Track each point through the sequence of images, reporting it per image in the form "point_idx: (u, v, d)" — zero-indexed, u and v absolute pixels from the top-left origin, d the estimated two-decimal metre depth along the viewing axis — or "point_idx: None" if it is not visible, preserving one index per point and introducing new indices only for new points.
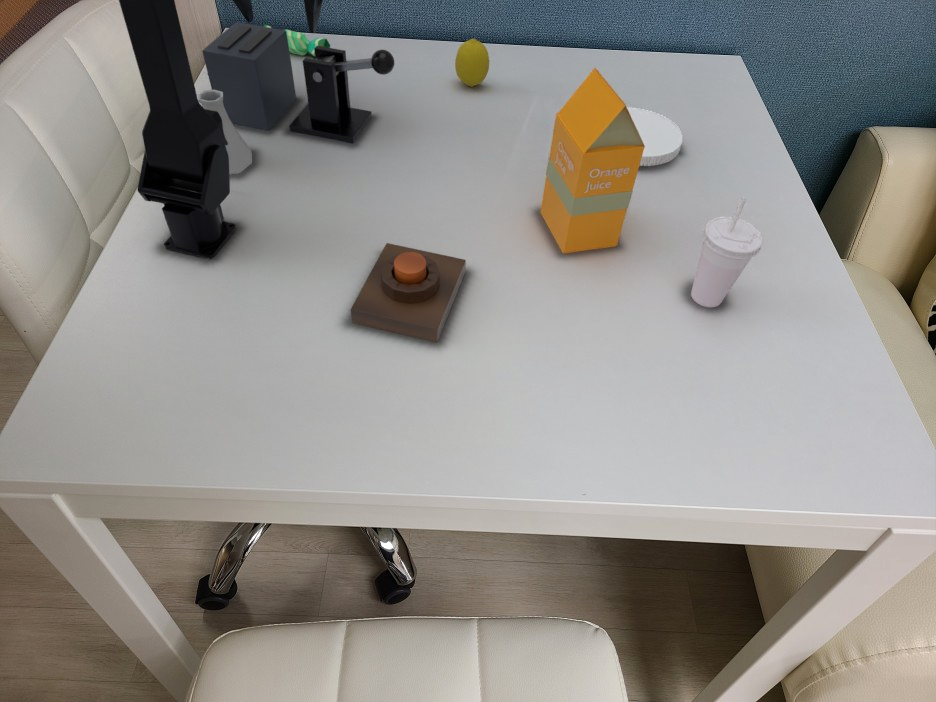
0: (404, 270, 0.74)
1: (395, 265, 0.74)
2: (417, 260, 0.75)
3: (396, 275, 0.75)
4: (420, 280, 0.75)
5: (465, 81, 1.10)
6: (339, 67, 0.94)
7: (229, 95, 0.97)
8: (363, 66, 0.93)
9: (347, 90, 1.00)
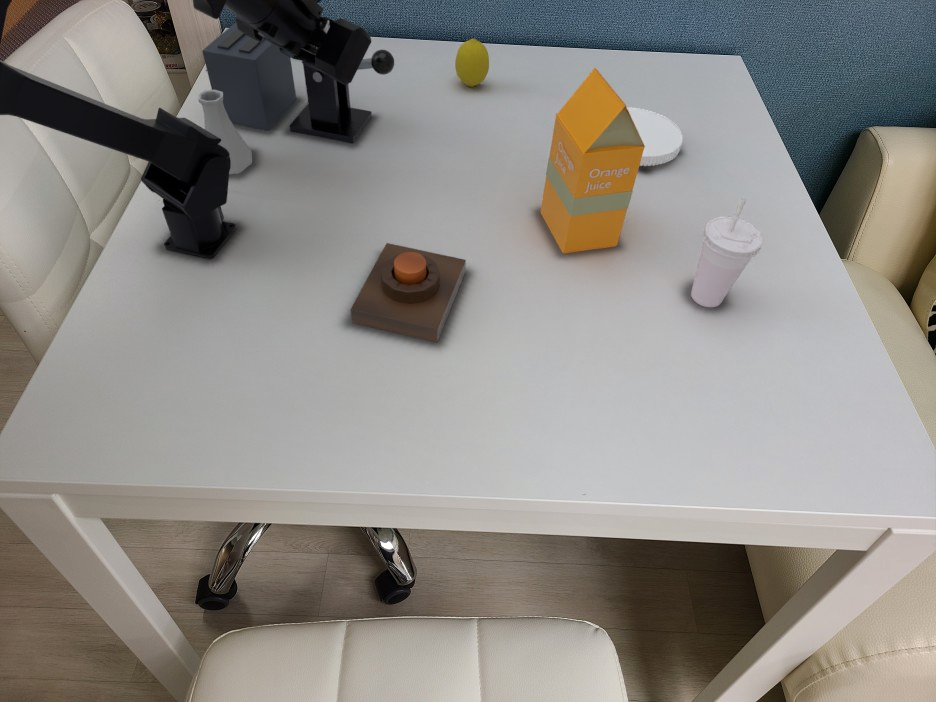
0: (404, 270, 0.74)
1: (395, 265, 0.74)
2: (417, 260, 0.75)
3: (396, 275, 0.75)
4: (420, 280, 0.75)
5: (465, 81, 1.10)
6: None
7: (229, 95, 0.97)
8: (363, 66, 0.93)
9: (347, 90, 1.00)
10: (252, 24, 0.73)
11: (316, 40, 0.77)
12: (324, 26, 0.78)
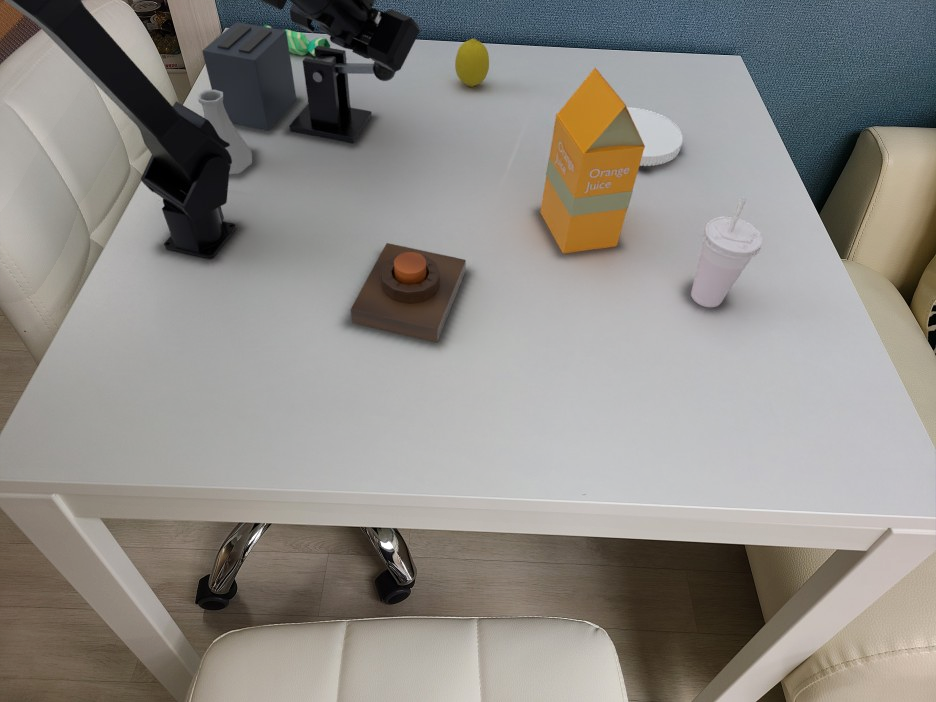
0: (404, 270, 0.74)
1: (395, 265, 0.74)
2: (417, 260, 0.75)
3: (396, 275, 0.75)
4: (420, 280, 0.75)
5: (465, 81, 1.10)
6: (340, 69, 0.95)
7: (229, 95, 0.97)
8: (364, 71, 0.94)
9: (347, 90, 1.00)
10: (310, 15, 0.79)
11: (368, 30, 0.82)
12: (375, 17, 0.83)
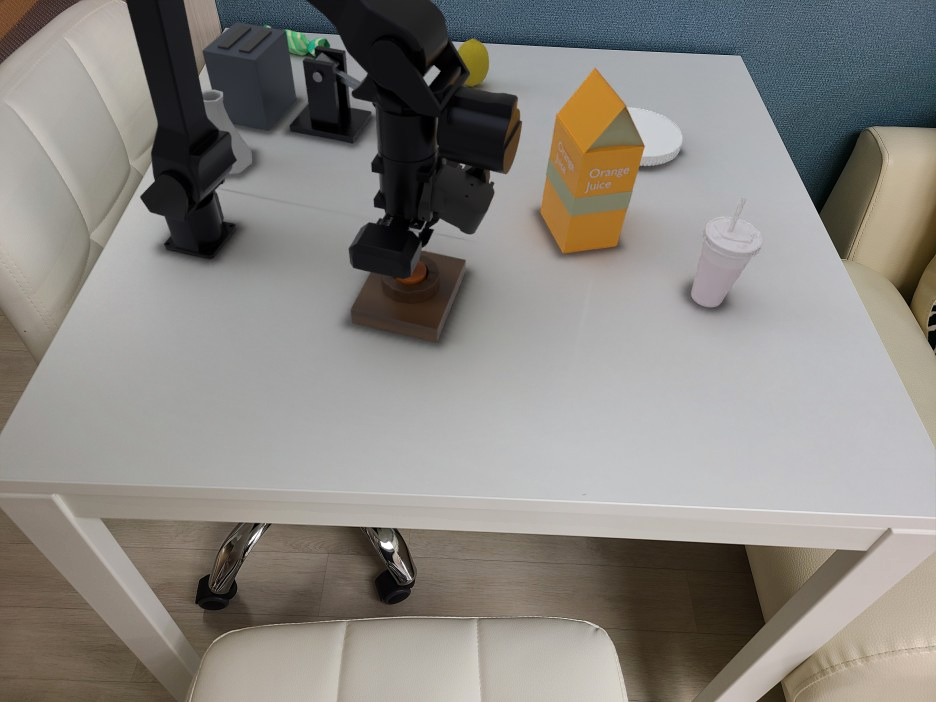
0: None
1: None
2: (417, 267, 0.76)
3: None
4: None
5: None
6: (340, 78, 0.96)
7: (229, 95, 0.97)
8: None
9: (347, 90, 1.00)
10: (378, 146, 0.64)
11: (392, 221, 0.66)
12: (413, 227, 0.66)
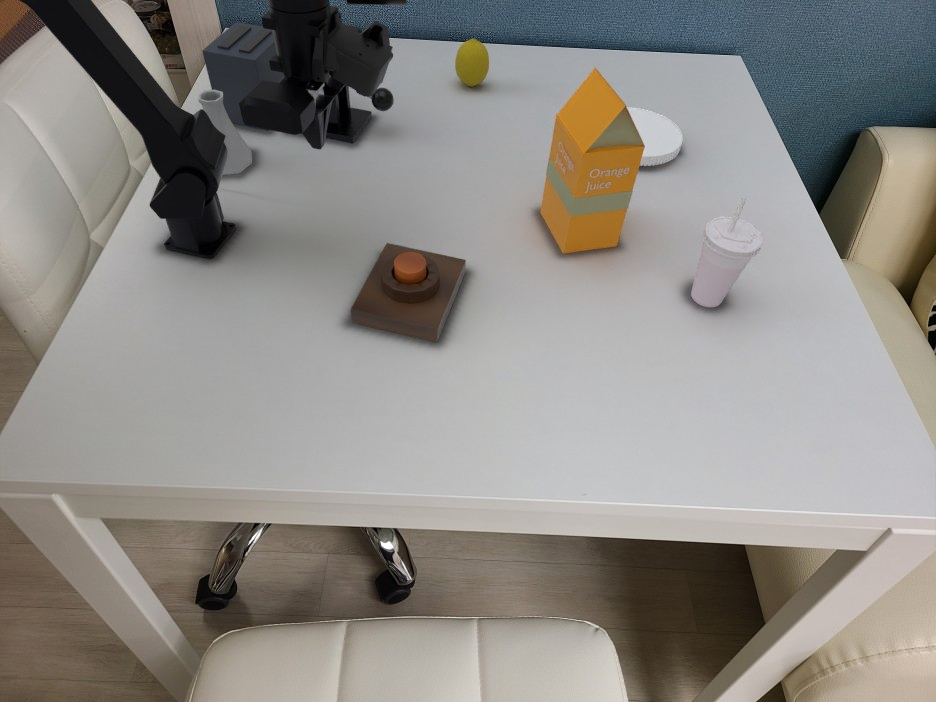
0: (404, 270, 0.74)
1: (395, 265, 0.74)
2: (417, 260, 0.75)
3: (396, 275, 0.75)
4: (420, 280, 0.75)
5: (465, 81, 1.10)
6: None
7: (229, 95, 0.97)
8: None
9: (347, 90, 1.00)
10: None
11: (287, 81, 0.66)
12: (308, 89, 0.66)
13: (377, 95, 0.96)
